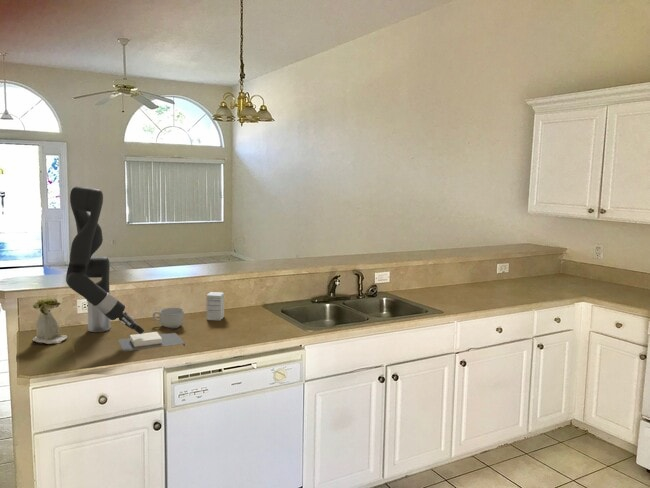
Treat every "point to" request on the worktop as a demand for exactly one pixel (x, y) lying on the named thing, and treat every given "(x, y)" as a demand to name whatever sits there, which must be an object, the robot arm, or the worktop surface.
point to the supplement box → (215, 306)
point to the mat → (166, 341)
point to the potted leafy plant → (47, 322)
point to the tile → (146, 339)
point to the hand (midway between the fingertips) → (142, 332)
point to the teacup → (170, 317)
